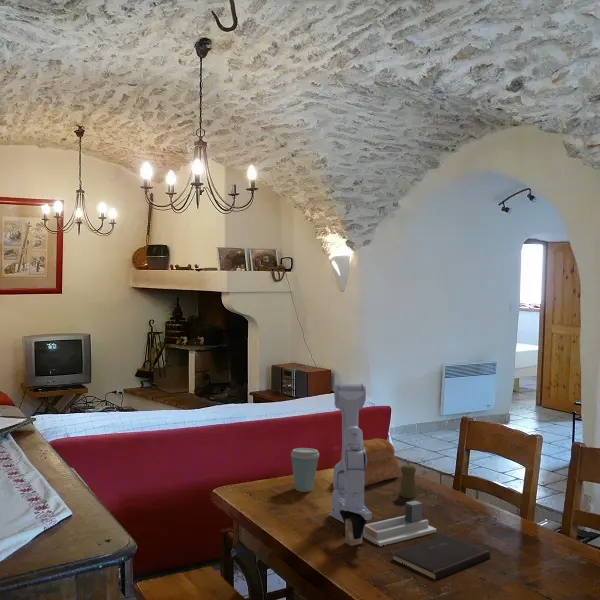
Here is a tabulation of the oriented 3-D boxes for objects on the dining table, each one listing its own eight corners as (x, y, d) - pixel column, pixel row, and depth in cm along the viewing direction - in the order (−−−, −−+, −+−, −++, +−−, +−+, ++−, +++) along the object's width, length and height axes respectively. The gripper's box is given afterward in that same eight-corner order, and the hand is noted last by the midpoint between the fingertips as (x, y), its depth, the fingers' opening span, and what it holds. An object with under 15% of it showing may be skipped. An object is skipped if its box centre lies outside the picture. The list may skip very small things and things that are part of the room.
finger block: (345, 542, 195) (345, 519, 195) (357, 539, 197) (357, 516, 197) (351, 545, 192) (351, 522, 192) (363, 542, 195) (363, 519, 195)
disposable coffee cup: (288, 485, 248) (289, 445, 248) (317, 484, 249) (317, 445, 249) (291, 494, 238) (292, 453, 237) (321, 493, 239) (321, 452, 238)
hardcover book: (391, 561, 184) (391, 552, 184) (445, 541, 198) (445, 533, 198) (435, 582, 171) (435, 573, 171) (490, 559, 185) (490, 551, 185)
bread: (331, 482, 253) (331, 442, 252) (377, 469, 270) (378, 433, 269) (356, 491, 242) (356, 450, 242) (403, 477, 259) (403, 439, 259)
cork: (416, 498, 234) (416, 468, 234) (399, 497, 235) (399, 466, 235) (416, 493, 240) (417, 463, 240) (400, 492, 241) (400, 462, 241)
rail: (355, 532, 202) (355, 506, 202) (410, 519, 214) (411, 495, 214) (379, 546, 192) (380, 519, 192) (436, 532, 204) (436, 506, 203)
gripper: (329, 486, 198) (328, 530, 199) (357, 500, 186) (357, 547, 186) (348, 482, 202) (348, 526, 202) (377, 496, 190) (377, 542, 190)
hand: (353, 536), depth 195 cm, fingers closed on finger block, 3 cm apart
